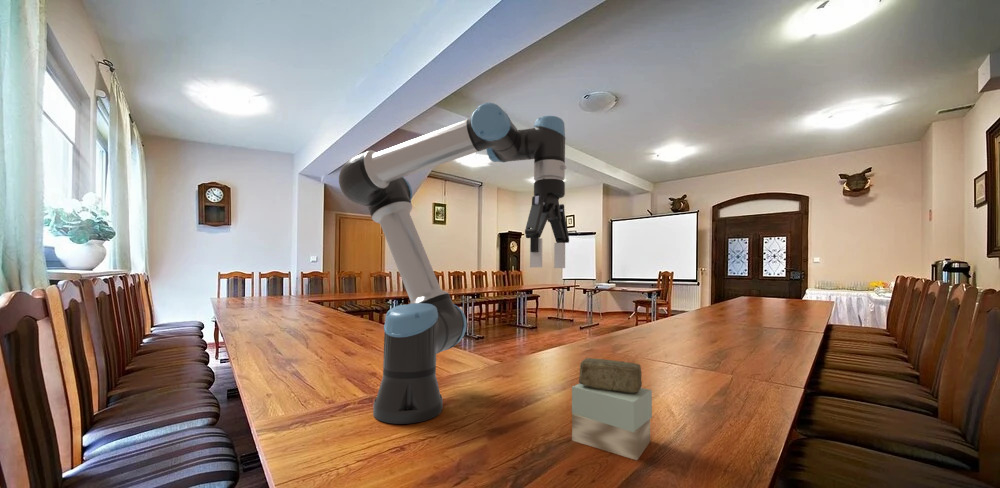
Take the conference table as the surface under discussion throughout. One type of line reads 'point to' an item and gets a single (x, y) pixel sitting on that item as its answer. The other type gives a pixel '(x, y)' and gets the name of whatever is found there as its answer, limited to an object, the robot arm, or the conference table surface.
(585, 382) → the stone block
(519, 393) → the conference table surface
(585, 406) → the tower top
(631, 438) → the tower base
